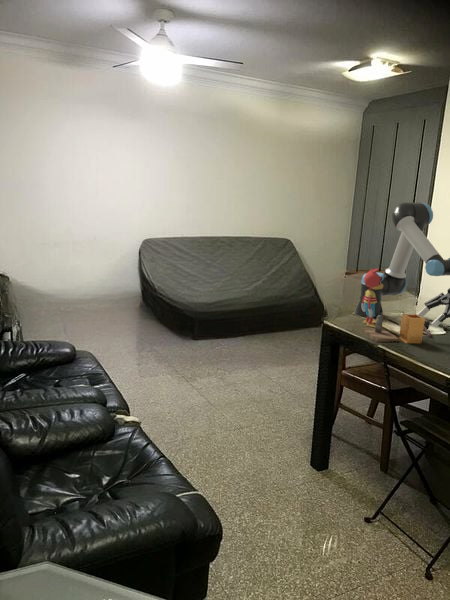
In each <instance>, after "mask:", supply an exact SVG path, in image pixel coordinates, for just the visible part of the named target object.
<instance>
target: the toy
mask: <svg viewBox="0 0 450 600" xmlns="http://www.w3.org/2000/svg"><path fill="white" fill-rule="evenodd" d="M377 271H379V268H375V269H374V268H371V269H369V271H368V272H366V273H367V274H366V273H365V274H366V275H365V277H364V282H365V285H366V286H368V287H369V290H367V291H366V292H365V295H364V297H363V299H362V305H361V307H362V311H363V312H366V314H367V317H365V318H366V319H365V320H363V323H364V324H366V326H367V327H369V328H373V329H375V327H376V319H375V317H374V316H375V303H377V300H376V296H375V293H374V292H373V291H372V290H371V289H374V290H378V289H382V288H383V284H381V282H382V281H381V280H382V277H381V279H380V276H379V275H378V274H377V273H376V272H377ZM364 302H365V303H364Z"/></svg>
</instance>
